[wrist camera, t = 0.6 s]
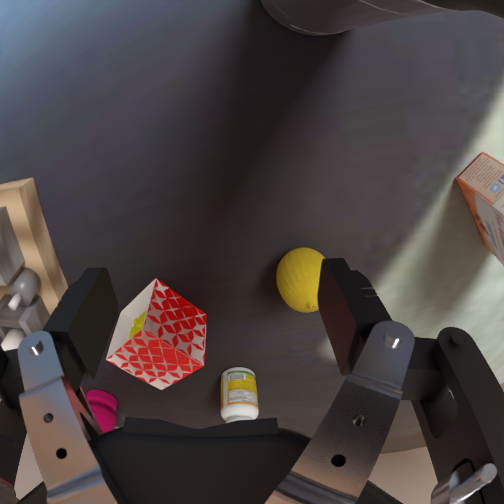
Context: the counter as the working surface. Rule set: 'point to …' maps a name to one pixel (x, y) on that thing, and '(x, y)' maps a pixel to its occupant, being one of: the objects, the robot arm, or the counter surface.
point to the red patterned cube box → (159, 337)
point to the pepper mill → (103, 408)
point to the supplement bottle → (238, 395)
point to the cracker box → (486, 200)
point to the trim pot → (24, 288)
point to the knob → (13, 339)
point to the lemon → (300, 278)
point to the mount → (26, 257)
